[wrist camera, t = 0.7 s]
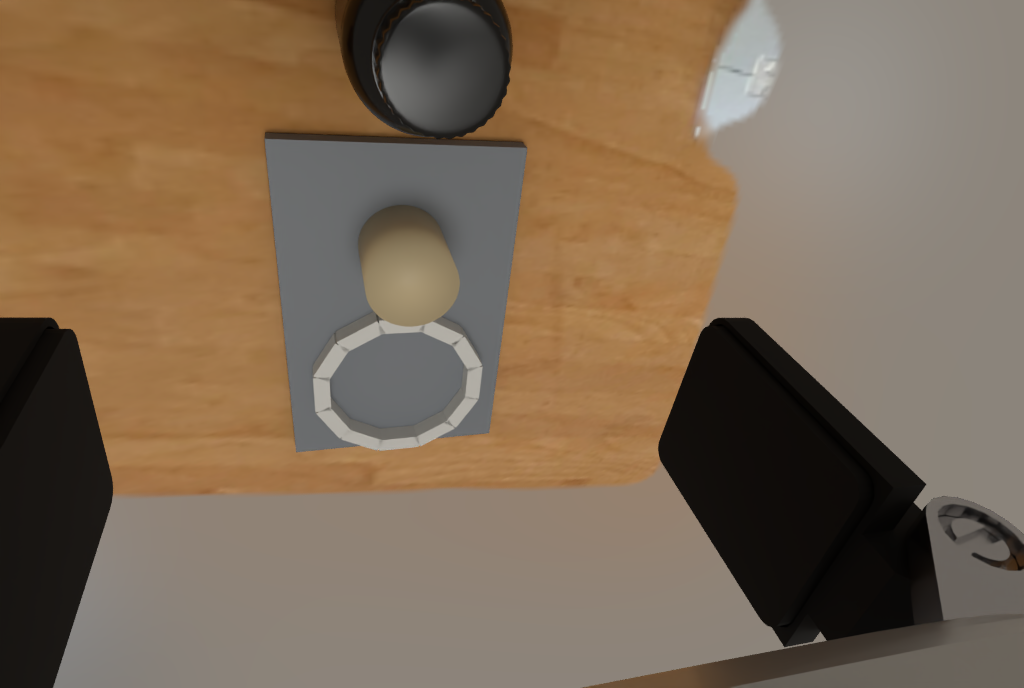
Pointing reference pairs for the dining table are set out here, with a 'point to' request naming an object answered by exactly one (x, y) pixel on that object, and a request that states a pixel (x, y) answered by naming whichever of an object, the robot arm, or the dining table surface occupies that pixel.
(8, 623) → the robot arm
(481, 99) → the supplement bottle
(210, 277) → the dining table surface
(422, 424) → the board
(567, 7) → the dining table surface
